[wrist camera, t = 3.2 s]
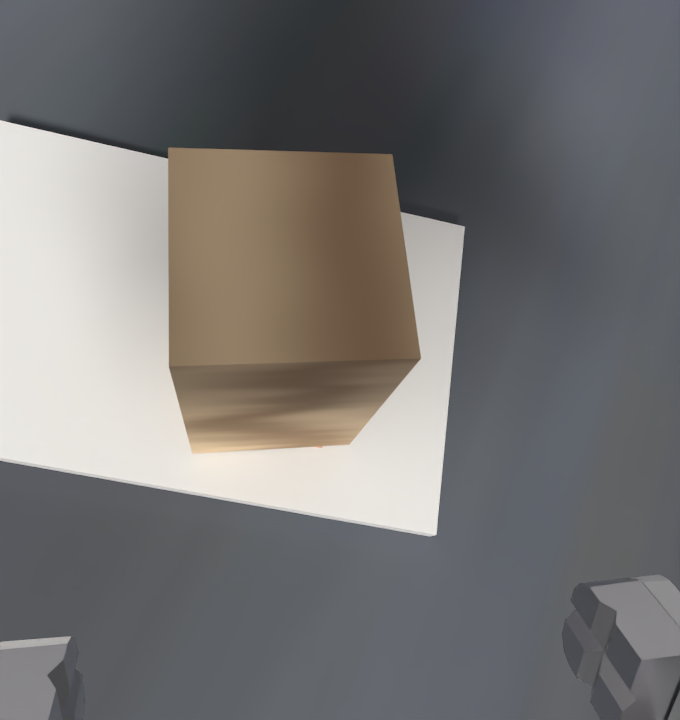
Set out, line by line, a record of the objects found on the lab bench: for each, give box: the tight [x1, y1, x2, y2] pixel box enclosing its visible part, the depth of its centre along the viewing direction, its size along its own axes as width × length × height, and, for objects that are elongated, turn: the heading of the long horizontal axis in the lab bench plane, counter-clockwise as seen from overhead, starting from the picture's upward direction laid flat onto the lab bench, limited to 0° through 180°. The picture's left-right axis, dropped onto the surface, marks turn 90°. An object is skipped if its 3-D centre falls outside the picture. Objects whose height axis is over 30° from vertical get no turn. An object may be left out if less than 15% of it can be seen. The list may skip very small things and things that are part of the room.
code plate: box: [0, 121, 465, 536], centre depth 26 cm, size 21×14×1 cm, turn 81°
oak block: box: [168, 148, 421, 454], centre depth 21 cm, size 6×6×10 cm
